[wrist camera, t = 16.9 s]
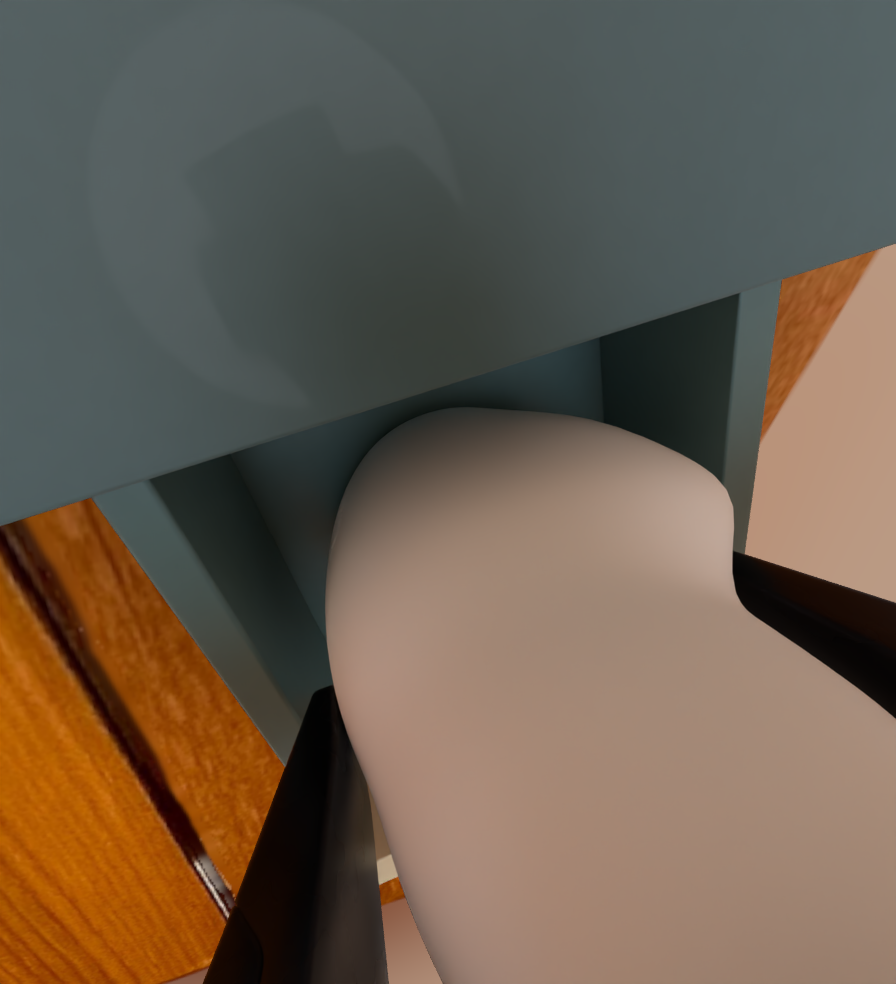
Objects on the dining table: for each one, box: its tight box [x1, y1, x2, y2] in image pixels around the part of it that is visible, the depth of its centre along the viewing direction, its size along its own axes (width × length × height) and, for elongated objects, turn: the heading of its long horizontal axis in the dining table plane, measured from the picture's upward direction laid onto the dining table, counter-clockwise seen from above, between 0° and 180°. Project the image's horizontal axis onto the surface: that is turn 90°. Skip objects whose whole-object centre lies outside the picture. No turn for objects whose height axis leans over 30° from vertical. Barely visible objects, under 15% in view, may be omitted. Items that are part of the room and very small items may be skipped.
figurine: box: [325, 407, 896, 984], centre depth 9 cm, size 7×8×12 cm
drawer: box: [91, 280, 782, 885], centre depth 14 cm, size 20×12×6 cm, turn 13°
